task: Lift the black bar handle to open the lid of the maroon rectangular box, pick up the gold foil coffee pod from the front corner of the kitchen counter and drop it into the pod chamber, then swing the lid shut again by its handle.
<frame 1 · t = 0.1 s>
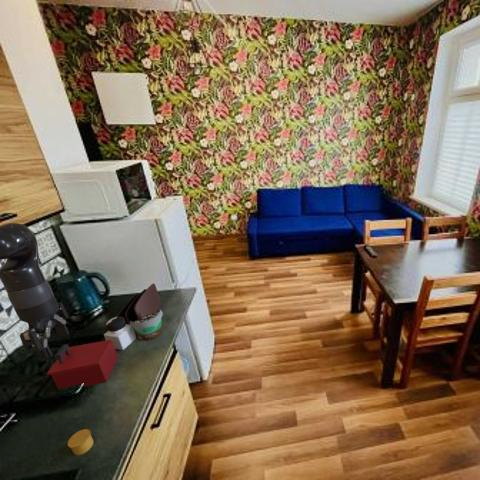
hand: (56, 346, 76), 26 cm above the kitchen counter, tool pointing down, fingers open, 8 cm apart
medicine bottle: (123, 343, 112), on the kitchen counter
coffee pod: (83, 446, 76), on the kitchen counter
pod lid: (80, 351, 94), point 11 cm above the kitchen counter, hinge at 0.0°
maroon rectangular box: (91, 373, 98), on the kitchen counter
food container: (153, 336, 116), on the kitchen counter
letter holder: (142, 318, 127), on the kitchen counter
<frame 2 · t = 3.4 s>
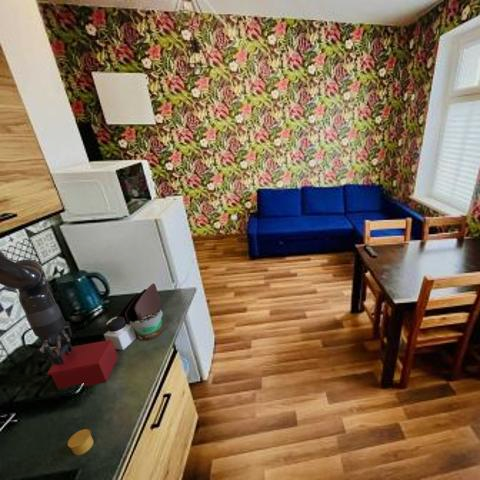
hand: (64, 357, 93), 10 cm above the kitchen counter, tool pointing down, fingers closed on pod lid, 5 cm apart
pod lid: (80, 351, 94), point 11 cm above the kitchen counter, hinge at -0.1°, touching gripper
everything else where it was.
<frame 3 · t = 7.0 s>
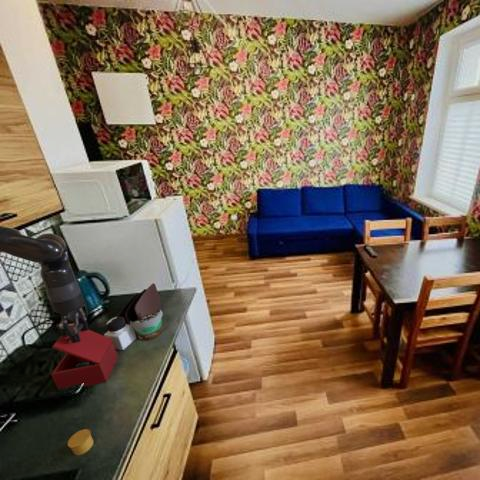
hand: (80, 335, 92), 17 cm above the kitchen counter, tool pointing down, fingers closed on pod lid, 5 cm apart
pod lid: (88, 339, 93), point 15 cm above the kitchen counter, hinge at 47.2°, touching gripper
everything else where it was.
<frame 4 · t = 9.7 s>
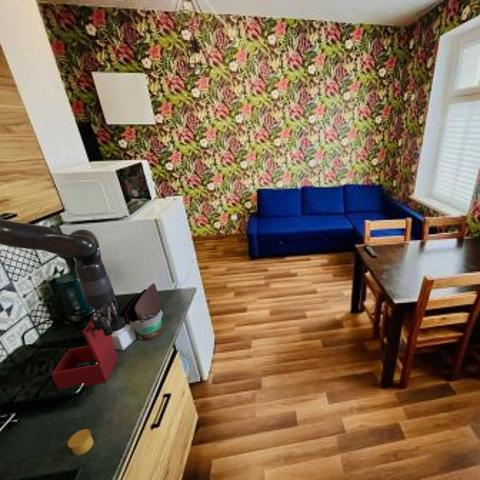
hand: (112, 329, 94), 18 cm above the kitchen counter, tool pointing down, fingers closed on pod lid, 5 cm apart
pod lid: (105, 334, 94), point 16 cm above the kitchen counter, hinge at 88.5°, touching gripper
everything else where it was.
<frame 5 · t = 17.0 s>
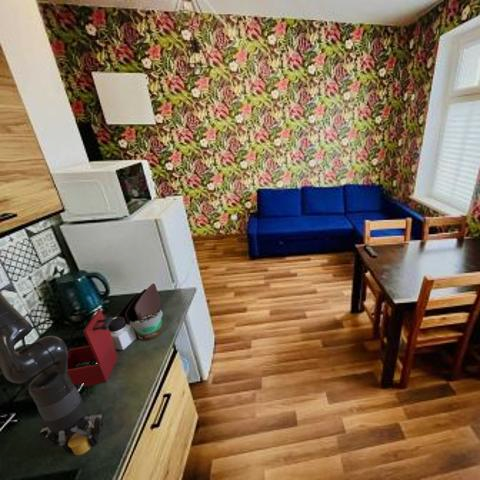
hand: (83, 446, 76), 0 cm above the kitchen counter, tool pointing down, fingers closed on coffee pod, 4 cm apart
coffee pod: (83, 446, 76), on the kitchen counter, touching gripper
pod lid: (106, 334, 94), point 16 cm above the kitchen counter, hinge at 89.0°
everything else where it was.
when the fingers open (10 cm above the kitchen counter, at t = 26.6 s): coffee pod drops 9 cm, resting on maroon rectangular box.
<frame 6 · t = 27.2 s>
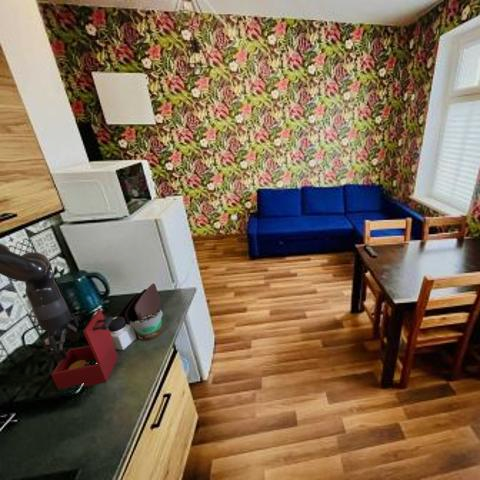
hand: (69, 349, 92), 13 cm above the kitchen counter, tool pointing down, fingers open, 8 cm apart
coffee pod: (81, 373, 97), point 1 cm above the kitchen counter, touching maroon rectangular box
everything else where it was.
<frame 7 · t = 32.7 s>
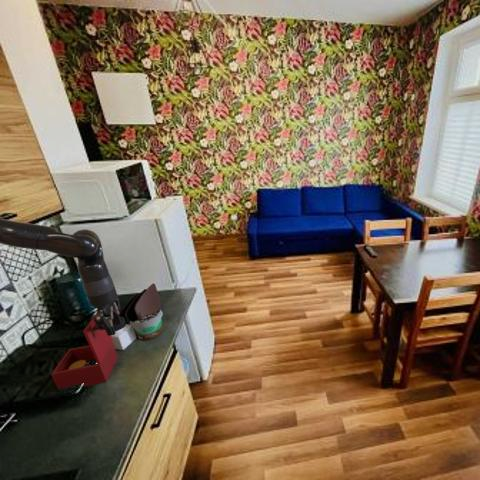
hand: (114, 329, 95), 18 cm above the kitchen counter, tool pointing down, fingers closed on pod lid, 5 cm apart
pod lid: (106, 334, 94), point 16 cm above the kitchen counter, hinge at 89.0°, touching gripper
everything else where it was.
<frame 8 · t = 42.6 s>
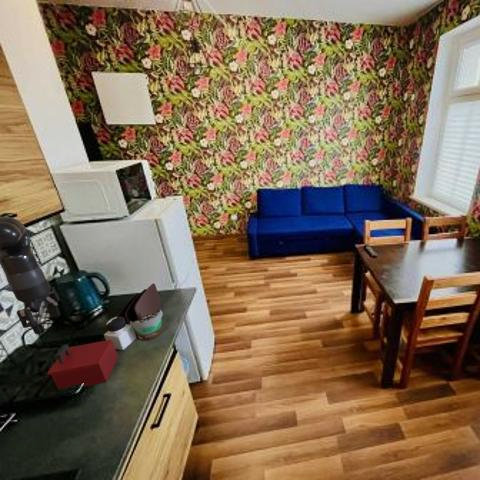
hand: (48, 324, 87), 24 cm above the kitchen counter, tool pointing down, fingers open, 8 cm apart
pod lid: (80, 351, 94), point 11 cm above the kitchen counter, hinge at -0.2°, touching maroon rectangular box
everything else where it was.
at the end: pod lid reached +89° during the clip, +0° at the end; coffee pod inside the target area in the maroon rectangular box (3.0 cm from its centre), point 0.8 cm above the maroon rectangular box's base; pod lid at +0° (first picture: +0°) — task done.
